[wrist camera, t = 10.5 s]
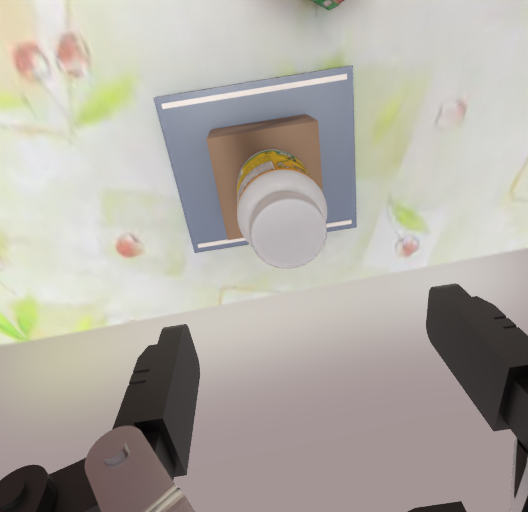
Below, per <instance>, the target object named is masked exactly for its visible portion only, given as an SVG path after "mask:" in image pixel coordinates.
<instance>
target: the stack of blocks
mask: <svg viewBox="0 0 528 512" xmlns="http://www.w3.org/2000/svg"><path fill="white" fill-rule="evenodd" d="M312 1H313V2H315V3H317V4H319V5H320V6H322V7H324V8H326V9H327V10H331V9H333V8H335V7H336V6H338V5H339V4H340V3H341V2H342V1H344V0H312Z"/></svg>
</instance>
